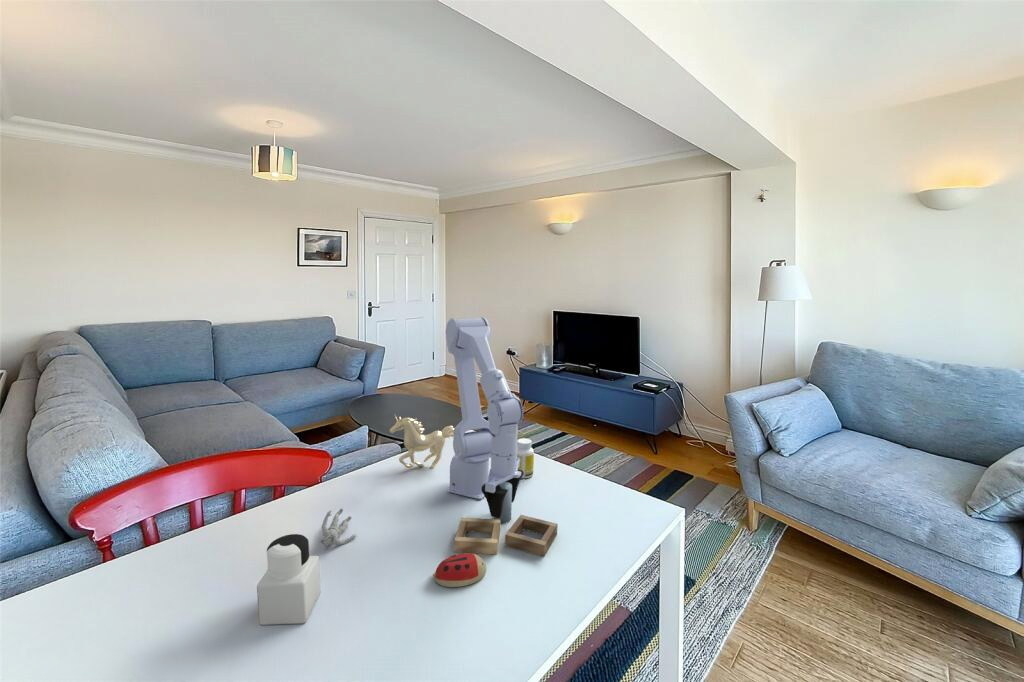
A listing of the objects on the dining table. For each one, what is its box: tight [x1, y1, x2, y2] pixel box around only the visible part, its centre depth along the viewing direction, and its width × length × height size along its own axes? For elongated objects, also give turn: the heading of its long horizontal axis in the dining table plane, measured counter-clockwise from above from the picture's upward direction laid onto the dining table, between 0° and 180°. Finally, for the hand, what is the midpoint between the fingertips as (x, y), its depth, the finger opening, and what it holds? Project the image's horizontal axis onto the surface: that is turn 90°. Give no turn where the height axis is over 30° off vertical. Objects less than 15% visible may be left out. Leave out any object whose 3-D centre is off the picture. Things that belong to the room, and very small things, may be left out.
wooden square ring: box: [504, 514, 558, 558], centre depth 95 cm, size 8×8×2 cm
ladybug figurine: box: [432, 552, 487, 588], centre depth 84 cm, size 7×10×4 cm
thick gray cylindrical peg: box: [493, 482, 513, 524], centre depth 103 cm, size 4×4×8 cm
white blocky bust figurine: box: [256, 533, 321, 626], centre depth 74 cm, size 7×7×12 cm
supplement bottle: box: [517, 437, 535, 479], centre depth 125 cm, size 5×5×10 cm
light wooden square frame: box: [453, 517, 501, 555], centre depth 95 cm, size 8×8×2 cm
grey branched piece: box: [319, 508, 357, 550], centre depth 94 cm, size 8×5×12 cm
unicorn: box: [389, 413, 455, 469], centre depth 128 cm, size 20×4×17 cm, turn 121°
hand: (502, 508), depth 103 cm, fingers open, 7 cm apart
